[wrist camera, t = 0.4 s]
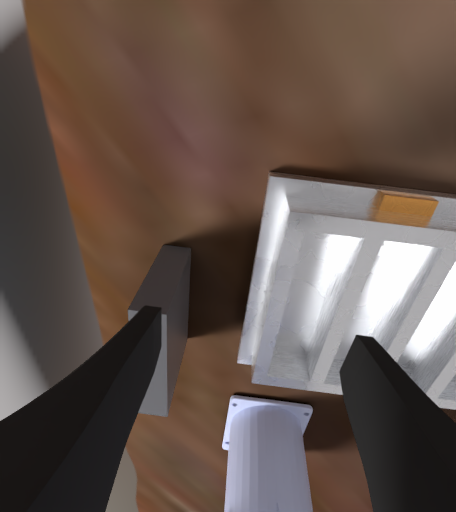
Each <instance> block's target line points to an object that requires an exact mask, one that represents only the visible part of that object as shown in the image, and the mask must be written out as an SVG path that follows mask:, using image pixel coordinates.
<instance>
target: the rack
mask: <svg viewBox="0 0 456 512" xmlns="http://www.w3.org/2000/svg"><path fill="white" fill-rule="evenodd" d="M356 335H363V336H371V337H374V339H375V340H376V341H377V342H378V343H379V344H380V345H381V346H382V347H383V348H384V349H385V350H386V351H387V352H388V354H389V355H390V356H391V357H392V358H393V359H394V360H395V361H396V362H397V363H398V365H399V366H400V367H401V368H402V369H403V370H404V371H405V372H406V373H407V374H408V376H409V377H410V378H411V379H412V380H413V381H414V382H415V383H416V384H417V385H418V386H419V387H420V388H421V389H422V390H423V391H424V393H425V394H426V395H427V396H428V397H429V398H430V399H431V400H432V401H433V402H434V403H435V404H436V405H437V406H438V407H439V408H447V409H454V410H456V194H449V193H441V192H433V191H425V190H416V189H408V188H400V187H392V186H384V185H375V184H367V183H359V182H351V181H343V180H334V179H326V178H318V177H310V176H302V175H294V174H285V173H277V172H269V175H268V181H267V187H266V193H265V198H264V204H263V210H262V216H261V222H260V227H259V233H258V239H257V245H256V251H255V257H254V262H253V268H252V274H251V280H250V286H249V291H248V297H247V303H246V309H245V315H244V320H243V326H242V332H241V338H240V344H239V349H238V358H237V363H241V364H249V365H252V383H256V384H263V385H271V386H279V387H286V388H294V389H302V390H309V391H317V392H324V393H332V394H340V395H343V393H342V387H341V380H340V374H339V371H340V369H341V366H342V364H343V362H344V360H345V358H346V356H347V353H348V351H349V349H350V347H351V345H352V343H353V340H354V338H355V336H356Z"/></svg>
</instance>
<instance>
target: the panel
mask: <svg viewBox="0 0 456 512" xmlns="http://www.w3.org/2000/svg"><path fill="white" fill-rule="evenodd" d="M190 267H191V248H186V247H178V246H170V245H163V246H162V248H161V250H160V252H159V254H158V255H157V257H156V259H155V261H154V263H153V265H152V266H151V268H150V270H149V272H148V274H147V275H146V277H145V279H144V281H143V283H142V285H141V286H140V288H139V290H138V292H137V294H136V296H135V297H134V299H133V301H132V303H131V305H130V306H129V308H128V318H129V321H130V320H131V319H132V318H133V317H134V315H135V314H136V313H137V312H138V311H139V310H140V309H141V308H142V307H143V306H145V305H147V306H154V307H162V347H161V350H160V354H159V358H158V361H157V365H156V368H155V372H154V375H153V377H152V380H151V382H150V385H149V387H148V390H147V392H146V395H145V397H144V399H143V402H142V404H141V407H140V409H139V412H138V413H143V414H150V415H158V416H165V417H167V416H168V412H169V408H170V404H171V400H172V397H173V393H174V389H175V385H176V381H177V377H178V373H179V369H180V365H181V362H182V358H183V354H184V350H185V346H186V342H187V336H188V313H189V290H190Z"/></svg>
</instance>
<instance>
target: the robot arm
mask: <svg viewBox="0 0 456 512" xmlns="http://www.w3.org/2000/svg"><path fill="white" fill-rule="evenodd" d="M161 347H162V307H154V306H147V305H145V306H143V307H142V308H141V309H140V310H139V311H138V312H137V313H136V314H135V315H134V317H133V318H132V319H131V320H130V321H129V322H128V323H127V324H126V325H125V326H124V327H123V328H122V329H121V330H120V331H119V332H118V333H117V334H115V335H114V336H113V337H112V338H111V339H110V340H109V341H108V342H107V343H106V344H105V345H104V346H103V347H102V348H100V349H99V350H98V351H97V352H96V353H95V354H93V355H92V356H91V357H90V358H89V359H88V360H86V361H85V362H84V363H83V364H82V365H80V366H79V367H78V368H77V369H75V370H74V371H73V372H72V373H71V374H69V375H68V376H67V377H65V378H64V379H63V380H61V381H60V382H58V383H57V384H56V385H54V386H53V387H52V388H50V389H49V390H47V391H46V392H44V393H43V394H42V395H40V396H39V397H37V398H36V399H34V400H33V401H31V402H30V403H28V404H27V405H25V406H24V407H22V408H21V409H19V410H18V411H16V412H14V413H13V414H11V415H10V416H8V417H6V418H5V419H3V420H1V421H0V512H105V511H106V507H107V503H108V500H109V497H110V493H111V490H112V487H113V484H114V480H115V477H116V474H117V470H118V467H119V464H120V461H121V458H122V454H123V451H124V448H125V445H126V442H127V439H128V437H129V434H130V431H131V429H132V426H133V424H134V422H135V419H136V417H137V414H138V412H139V409H140V407H141V404H142V402H143V399H144V397H145V395H146V392H147V390H148V387H149V385H150V382H151V380H152V377H153V375H154V372H155V368H156V365H157V361H158V358H159V354H160V350H161ZM339 374H340V380H341V387H342V393H343V398H344V402H345V406H346V409H347V413H348V416H349V420H350V423H351V426H352V430H353V433H354V437H355V440H356V443H357V447H358V450H359V453H360V457H361V460H362V463H363V467H364V471H365V475H366V478H367V483H368V487H369V492H370V497H371V502H372V507H373V512H456V423H455V422H454V421H453V420H452V419H451V418H449V417H448V416H447V415H446V414H445V413H444V412H443V411H442V410H441V409H440V408H439V407H438V406H437V405H436V404H435V403H434V402H433V401H432V400H431V399H430V398H429V397H428V396H427V395H426V394H425V393H424V391H423V390H422V389H421V388H420V387H419V386H418V385H417V384H416V383H415V382H414V381H413V380H412V379H411V378H410V377H409V376H408V374H407V373H406V372H405V371H404V370H403V369H402V368H401V367H400V366H399V365H398V363H397V362H396V361H395V360H394V359H393V358H392V357H391V356H390V355H389V354H388V352H387V351H386V350H385V349H384V348H383V347H382V346H381V345H380V344H379V343H378V342H377V341H376V340H375V339H374V337H371V336H363V335H356V336H355V338H354V340H353V343H352V345H351V347H350V349H349V351H348V353H347V356H346V358H345V360H344V362H343V364H342V366H341V369H340V371H339ZM312 412H313V408H312V406H310V405H307V404H299V403H291V402H284V401H276V400H269V399H261V398H253V397H246V396H238V395H233V396H231V398H230V403H229V409H228V415H227V420H226V426H225V432H224V438H223V444H222V448H223V449H224V450H229V452H228V467H227V481H226V496H225V510H224V512H313V509H312V501H311V494H310V487H309V479H308V472H307V465H306V457H305V450H304V443H303V434H304V431H305V429H306V426H307V424H308V422H309V419H310V417H311V415H312Z"/></svg>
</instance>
